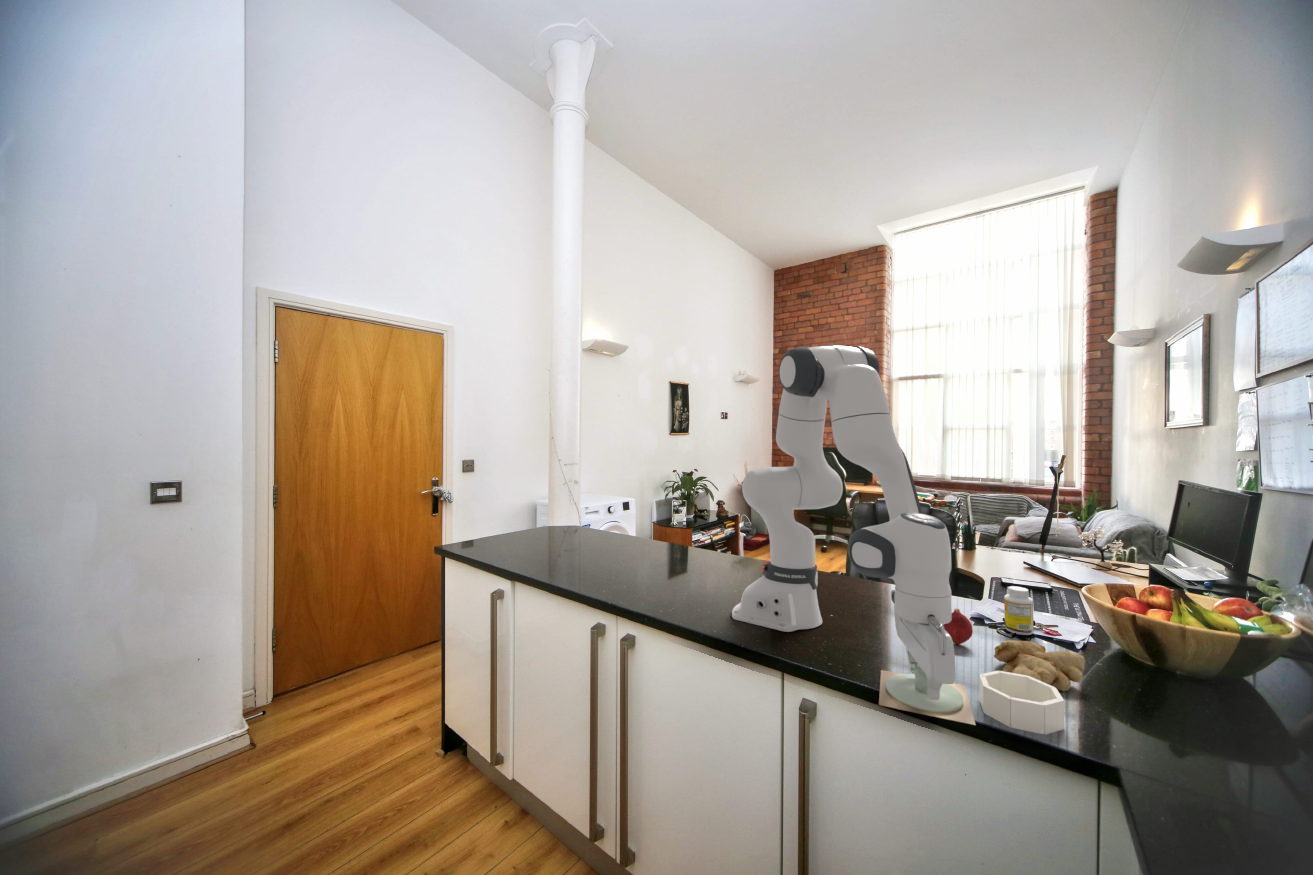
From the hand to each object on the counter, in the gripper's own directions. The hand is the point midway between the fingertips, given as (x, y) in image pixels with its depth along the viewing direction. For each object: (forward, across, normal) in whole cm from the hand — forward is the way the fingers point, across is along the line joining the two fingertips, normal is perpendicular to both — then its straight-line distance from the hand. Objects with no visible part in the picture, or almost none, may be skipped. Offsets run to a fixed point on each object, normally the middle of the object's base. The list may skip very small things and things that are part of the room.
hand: (923, 684), depth 87 cm
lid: (+2, 0, 0) cm, 2 cm away
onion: (+3, +26, -15) cm, 30 cm away
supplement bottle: (+3, +37, -32) cm, 49 cm away
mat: (+2, 0, 0) cm, 2 cm away
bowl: (+2, -4, -14) cm, 14 cm away
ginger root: (+3, +12, -23) cm, 26 cm away
